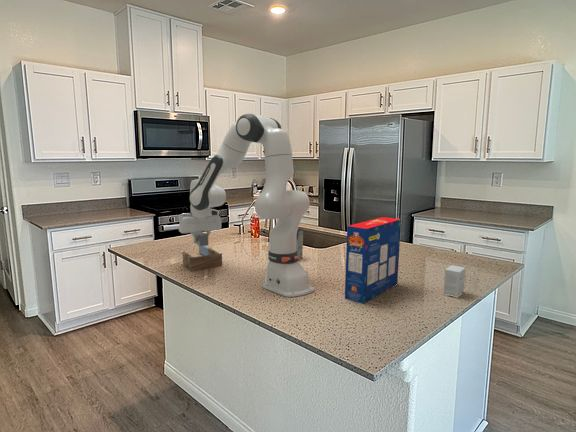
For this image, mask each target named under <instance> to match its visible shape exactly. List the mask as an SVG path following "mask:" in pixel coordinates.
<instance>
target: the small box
mask: <svg viewBox="0 0 576 432" xmlns="http://www.w3.org/2000/svg"><path fill="white" fill-rule="evenodd" d="M465 276H466V267H463V266H460V265H459V266H458V265H453V264H450V266H448V267H447V268H446V269H445V270H444V282H443V293H444V294H449V295H454V296H459V295H460V294H461V293H462V292H463V293H464V289H465V278H466V277H465ZM443 293H442V294H443ZM463 293H462V294H463ZM462 294H461V295H462ZM461 295H460V296H461ZM460 296H459V297H460Z"/></svg>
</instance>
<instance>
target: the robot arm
mask: <svg viewBox="0 0 576 432" xmlns="http://www.w3.org/2000/svg"><path fill="white" fill-rule="evenodd" d="M252 143H256V144H261V145H262V147H263V150H264V151H263V152H264V162H265V181H264V186H263V188H262V190H261V192H260V193H259V195H257V197H256V198H255V202H254V209H255V214H256V215H257V216H258V217H259V218H260V219H264V220H277V223H276V224H275V225H274V226H273V228H272V229H271V230H269V246H268V247H269V250H268V252H267V259H268V264H267V265H266V266H265V272H264V273H265V276H264V283H262V288H263V289H265V290H268V291H270V292H273V293H276V294H278V295H281V296H284V297H285V298H293V297H301V296H304V295H309V294H311V293H313V292H314V291H316V289H315V287H314V286H313V285H311V284H310V282H309V273H308V271H307V270H305V269H304V268H303V266H302V265H301V262H300V260H299V258H298V257H299V256H298V254H297V251H296V238H297V230H298V228H299V226H300V224H301V221H302V218H303V216H304V215H305V214H306V213H307V212H308V210H309V208H310V201H311V200H310V198H309V195H308V194H307V193H306V192H305V191H302V190H296V189H289V190H287V185H288V182H289V181H290V180H291V179H292V178H293V176H294V173H295V171H294V160H293V152H292V151H293V150H292V146H291V145H292V143H291V141H290V136H289V133H288V132H287V131H286V130H285V129H283V128H282V125H281V124H280V122H279V121H278V120H277V119H275V118H271V117H268V116H264V115H261V114H254V113H246V114H242V115H240V116H238V118H237V121H234V122H233V123H232V124H231V126H230V127H229V129H228V130H227V133H226V135H225V136H224V138H223V141H222V143H221V145H220V147H219V149H218V150H217V152H216V153H215V155H214V156H213V157H212V158H211V159H210V161H208V164H207V165H206V167H205V169H204V171H203V173H202V174H201V176H200V178H199V177H198V178H194V179H192V180H191V182H190V187H189V189H190V190H189V197H188V199H189V203H190V212H187V213H186V212H185V213H184V212H183V213H181V214H179V216H178V222H179V224H178V232H180V234H190V235H191V236H192V240H193V242H194V241H198V240H197V237H195V236H194V235H195V232H205V233H206V234H207V235H208V237H209V236H210V234H211V232H212V231H218V230H221V229H222V218H221V216H220V211H219V210H217V209H215V208H216V207H221V206H223V205H224V204H225V202H227V193H226V190H225V189H224V187H223V186H220V185H217V184H215V183H216V181H217V179H218V178H219V176H220V175H221V174H222V173H224V172H226V171H227V170H230V169H232V168H234V167H237V166H240V164H241V163H242V162H243V160H244V158H245V157H246V155H247V153H248V150H249V148H250V146H251V144H252ZM298 260H299V261H298Z"/></svg>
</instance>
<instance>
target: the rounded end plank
mask: <svg viewBox="0 0 576 432" xmlns="http://www.w3.org/2000/svg"><path fill="white" fill-rule="evenodd" d="M210 248H211V247H209V246H208V245H206V246H199V245H198V253H199V254H201V255H202V256H206V255H208V249H210Z"/></svg>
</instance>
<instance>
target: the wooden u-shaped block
mask: <svg viewBox="0 0 576 432" xmlns="http://www.w3.org/2000/svg"><path fill="white" fill-rule="evenodd" d="M209 248H210V249H208V255H206V256H204V255H202V256H194V257H193V256H192V255H191V254H189V253H187V252H186V251H182V264H183V265H184V266H185V267H186V268H188V270H189V271H190V272H193V271H194V272H195V271H201V270H205V269H213V268H218V267H223V253H220V252H218V251H216V250H214V249H213V248H212V247H209Z"/></svg>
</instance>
